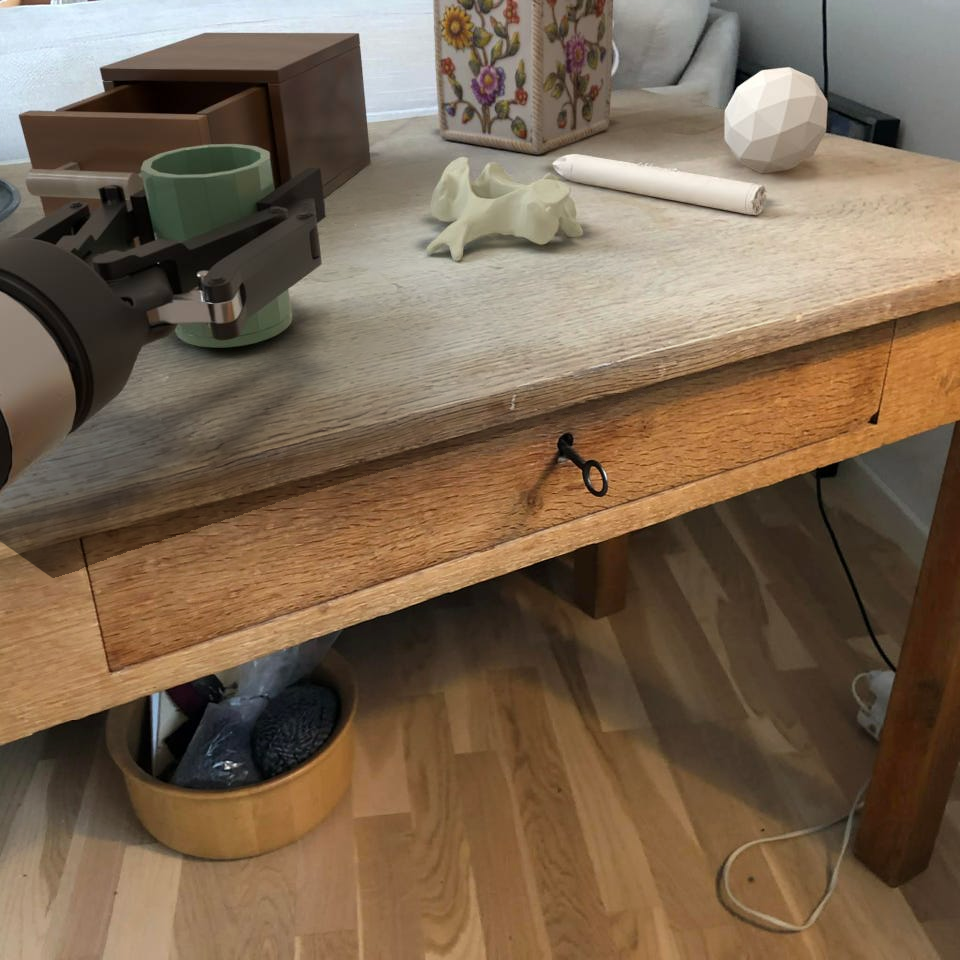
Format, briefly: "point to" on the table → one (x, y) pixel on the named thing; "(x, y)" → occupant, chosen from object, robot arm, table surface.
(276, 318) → the pen cup
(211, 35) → the cabinet
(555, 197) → the spine bone
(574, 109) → the decorative jar
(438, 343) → the table surface
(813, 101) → the geometric ball
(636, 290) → the table surface
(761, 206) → the marker
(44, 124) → the drawer
